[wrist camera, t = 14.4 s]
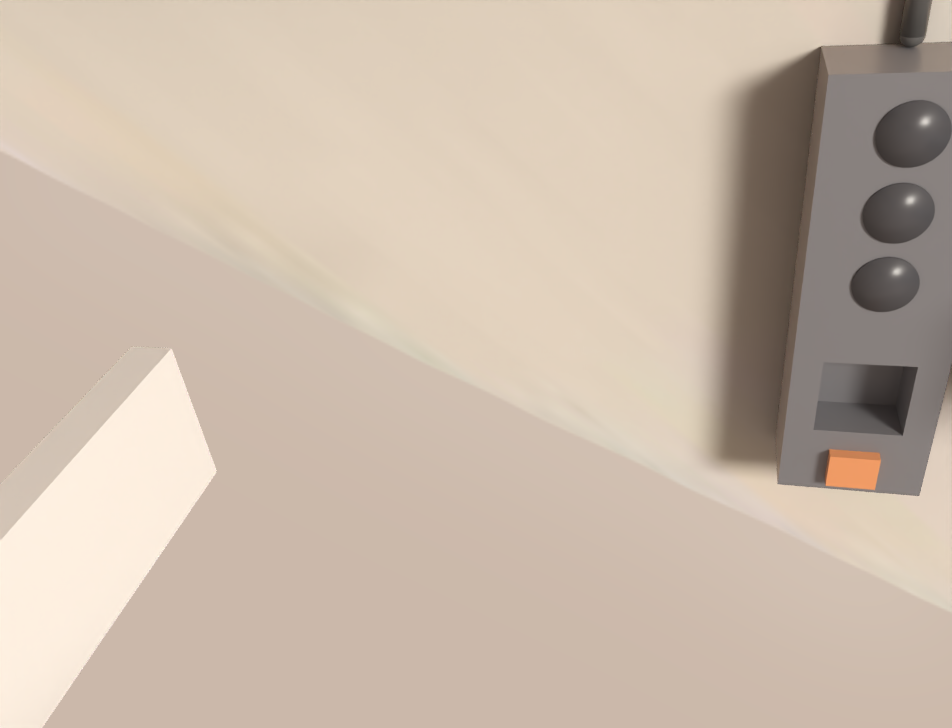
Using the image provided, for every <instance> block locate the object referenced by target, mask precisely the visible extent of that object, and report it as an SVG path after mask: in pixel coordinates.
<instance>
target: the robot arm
mask: <svg viewBox="0 0 952 728" xmlns="http://www.w3.org/2000/svg"><path fill="white" fill-rule="evenodd" d="M216 472H217V471H216V468H215V465H214V462H213V460H212V457H211V454H210V452H209V449H208V446H207V443H206V441H205V438H204V435H203V432H202V430H201V427H200V424H199V422H198V419H197V416H196V413H195V411H194V408H193V405H192V403H191V400H190V397H189V394H188V392H187V389H186V386H185V384H184V381H183V378H182V376H181V373H180V370H179V368H178V365H177V362H176V359H175V356H174V354H173V351H172V349H171V348H156V347H133V346H132V347H131V348H130V349H129V350H128V351H127V352H126V353H125V354H124V355H123V356H122V357H121V358H120V359H119V360H118V362H116V363H115V364H114V365H113V366H112V368H110V370H109V371H108V372H107V373H106V374H105V375H104V376H103V377H102V378H101V379H100V380H99V381H98V382H97V383H96V384H95V385H94V386H93V387H92V388H91V389H90V390H89V391H88V393H87V394H86V395H85V396H84V397H83V398H82V399H81V400H80V401H79V402H78V403H77V404H76V405H75V406H74V407H73V408H72V409H71V410H70V411H69V412H68V414H67V415H66V416H65V417H64V418H63V419H62V420H61V421H60V422H59V423H58V424H57V425H56V426H55V427H54V428H53V429H52V430H51V431H50V432H49V434H47V436H46V437H45V438H44V439H43V440H42V441H41V442H40V443H39V444H38V445H37V446H36V447H35V448H34V449H33V450H32V451H31V452H30V453H29V454H28V455H27V456H26V457H25V458H24V460H23V461H22V462H21V463H20V464H19V465H18V466H17V467H16V468H15V469H14V470H13V471H12V472H11V473H10V474H9V475H8V476H7V477H6V478H5V479H4V480H3V481H2V483H1V484H0V728H42V727H43V726H44V724H45V723H46V721H47V720H48V718H49V717H50V715H51V714H52V712H53V711H54V709H55V708H56V706H57V705H58V704H59V702H60V701H61V699H62V698H63V696H64V695H65V693H66V692H67V690H68V689H69V687H70V686H71V685H72V683H73V681H74V680H75V679H76V677H77V676H78V674H79V673H80V671H81V670H82V668H83V667H84V666H85V664H86V662H87V661H88V659H89V658H90V657H91V655H92V654H93V652H94V651H95V649H96V648H97V646H98V645H99V643H100V642H101V640H102V639H103V637H104V636H105V635H106V633H107V632H108V630H109V629H110V627H111V626H112V625H113V623H114V622H115V620H116V619H117V617H118V616H119V614H120V613H121V611H122V610H123V608H124V607H125V605H126V604H127V602H128V601H129V600H130V598H131V597H132V595H133V594H134V592H135V591H136V589H137V588H138V586H139V585H140V584H141V582H142V581H143V579H144V578H145V576H146V575H147V573H148V572H149V570H150V569H151V567H152V566H153V564H154V563H155V562H156V560H157V559H158V557H159V556H160V554H161V553H162V551H163V550H164V548H165V547H166V545H167V544H168V543H169V541H170V540H171V538H172V537H173V535H174V534H175V532H176V531H177V529H178V528H179V526H180V525H181V523H182V522H183V521H184V519H185V518H186V516H187V515H188V513H189V512H190V510H191V509H192V507H193V506H194V504H195V503H196V502H197V500H198V498H199V497H200V496H201V494H202V493H203V491H204V490H205V488H206V487H207V485H208V484H209V483H210V481H211V480H212V478H213V477H214V475H215V474H216Z"/></svg>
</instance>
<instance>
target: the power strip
mask: <svg viewBox="0 0 952 728" xmlns="http://www.w3.org/2000/svg"><path fill="white" fill-rule="evenodd" d="M931 4H932V0H905V5H904V11H903V17H902V23H901V29H900V36H899V37H900V41H901V43H902V44H877V45H847V46H821V53H820V62H819V70H818V79H817V87H816V96H815V104H814V113H813V121H812V130H811V138H810V147H809V155H808V164H807V172H806V181H805V189H804V198H803V206H802V215H801V223H800V232H799V240H798V249H797V257H796V266H795V274H794V283H793V291H792V300H791V308H790V317H789V325H788V334H787V342H786V351H785V359H784V368H783V376H782V385H781V393H780V402H779V411H778V419H777V428H776V436H775V441H776V461H777V481H778V484H782V485H794V486H806V487H818V488H830V489H842V490H854V491H865V492H877V493H889V494H901V495H913V496H919V495H920V491H921V487H922V483H923V479H924V474H925V470H926V466H927V462H928V458H929V454H930V450H931V446H932V442H933V438H934V434H935V430H936V426H937V422H938V418H939V414H940V410H941V406H942V402H943V398H944V394H945V390H946V386H947V382H948V378H949V374H950V370H951V366H952V42H936V43H922V42H923V40H924V39H925V36H926V31H927V26H928V20H929V15H930V9H931Z"/></svg>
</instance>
